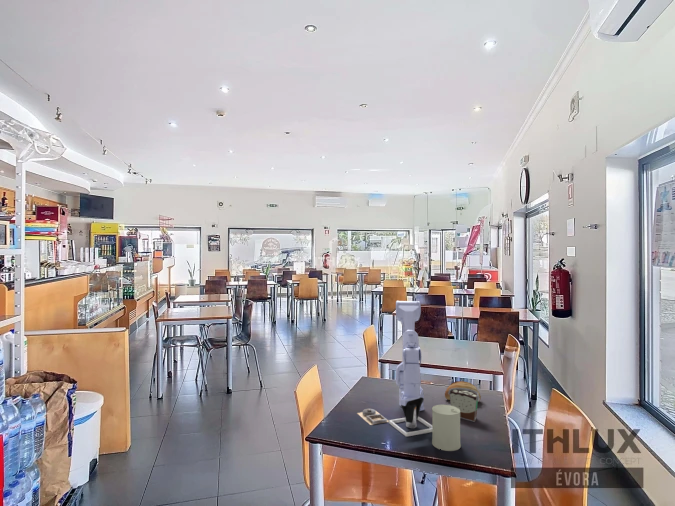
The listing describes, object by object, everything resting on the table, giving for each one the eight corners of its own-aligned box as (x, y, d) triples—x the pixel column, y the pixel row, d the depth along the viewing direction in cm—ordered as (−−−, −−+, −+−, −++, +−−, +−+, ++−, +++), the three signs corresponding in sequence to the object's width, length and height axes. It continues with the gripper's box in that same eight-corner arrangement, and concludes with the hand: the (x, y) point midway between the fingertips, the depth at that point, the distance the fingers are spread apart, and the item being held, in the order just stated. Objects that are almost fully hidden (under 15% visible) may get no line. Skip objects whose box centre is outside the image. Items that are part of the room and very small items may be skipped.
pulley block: (375, 414, 160) (375, 405, 160) (390, 425, 149) (390, 416, 149) (356, 417, 157) (356, 408, 157) (370, 429, 146) (370, 419, 146)
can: (456, 453, 127) (456, 415, 128) (427, 446, 132) (427, 409, 132) (464, 442, 135) (463, 406, 135) (437, 436, 140) (436, 401, 140)
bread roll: (443, 396, 181) (443, 378, 181) (478, 398, 179) (478, 379, 179) (445, 403, 172) (445, 384, 172) (482, 405, 169) (482, 386, 169)
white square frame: (417, 422, 152) (417, 415, 152) (436, 435, 141) (436, 428, 141) (388, 427, 147) (388, 420, 147) (406, 441, 136) (406, 433, 136)
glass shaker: (407, 423, 147) (407, 403, 147) (418, 425, 145) (417, 405, 145) (404, 427, 143) (403, 407, 144) (414, 429, 142) (414, 409, 142)
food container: (485, 418, 156) (485, 392, 156) (478, 423, 151) (478, 396, 151) (455, 410, 164) (455, 385, 164) (448, 414, 159) (448, 388, 160)
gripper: (410, 375, 152) (410, 411, 152) (391, 384, 141) (392, 424, 141) (428, 378, 148) (428, 415, 148) (410, 388, 137) (410, 429, 136)
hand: (411, 420), depth 144 cm, fingers open, 4 cm apart
